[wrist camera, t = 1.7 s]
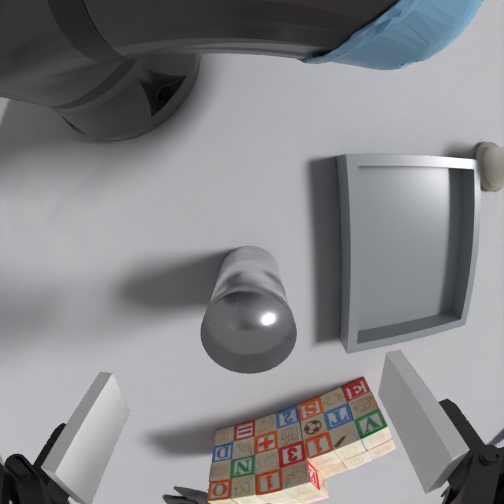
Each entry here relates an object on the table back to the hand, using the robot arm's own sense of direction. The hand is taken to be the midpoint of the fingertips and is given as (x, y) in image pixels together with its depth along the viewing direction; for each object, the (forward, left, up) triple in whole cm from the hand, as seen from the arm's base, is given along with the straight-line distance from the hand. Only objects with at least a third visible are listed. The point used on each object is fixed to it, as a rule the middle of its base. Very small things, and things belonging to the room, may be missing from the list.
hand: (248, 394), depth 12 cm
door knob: (-10, +30, -16) cm, 36 cm away
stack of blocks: (+21, +4, -17) cm, 27 cm away
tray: (-1, +17, -16) cm, 24 cm away
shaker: (0, 0, -16) cm, 16 cm away
